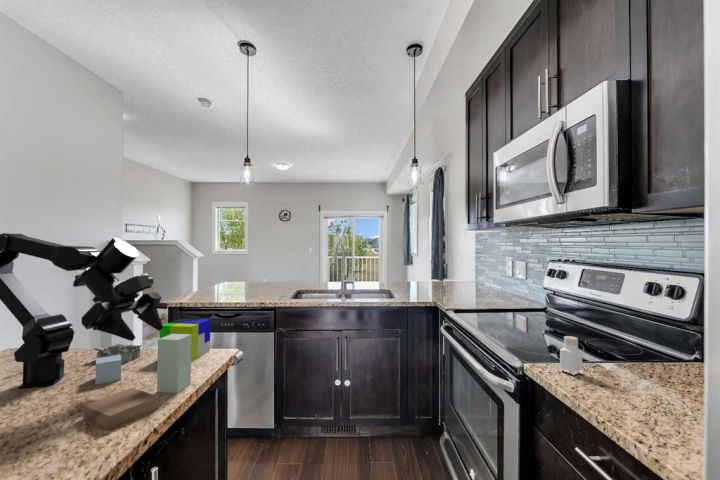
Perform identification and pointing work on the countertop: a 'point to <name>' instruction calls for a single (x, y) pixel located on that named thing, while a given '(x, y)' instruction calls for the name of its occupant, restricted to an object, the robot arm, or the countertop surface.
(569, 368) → the salt shaker
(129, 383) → the countertop surface
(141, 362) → the countertop surface
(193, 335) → the puzzle toy
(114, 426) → the walnut base block
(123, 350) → the egg carton
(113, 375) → the slate painted cube
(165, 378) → the sage pillar block
